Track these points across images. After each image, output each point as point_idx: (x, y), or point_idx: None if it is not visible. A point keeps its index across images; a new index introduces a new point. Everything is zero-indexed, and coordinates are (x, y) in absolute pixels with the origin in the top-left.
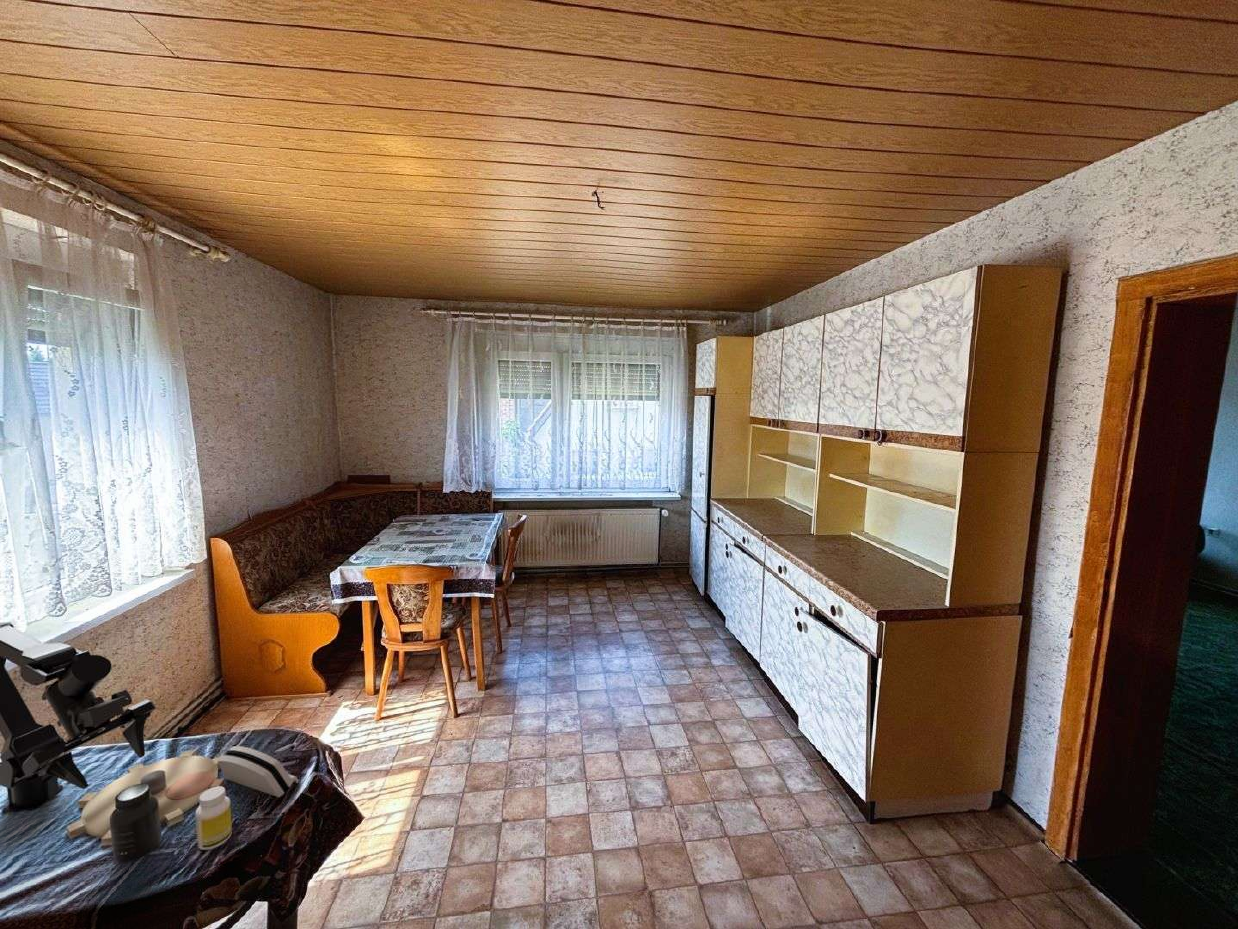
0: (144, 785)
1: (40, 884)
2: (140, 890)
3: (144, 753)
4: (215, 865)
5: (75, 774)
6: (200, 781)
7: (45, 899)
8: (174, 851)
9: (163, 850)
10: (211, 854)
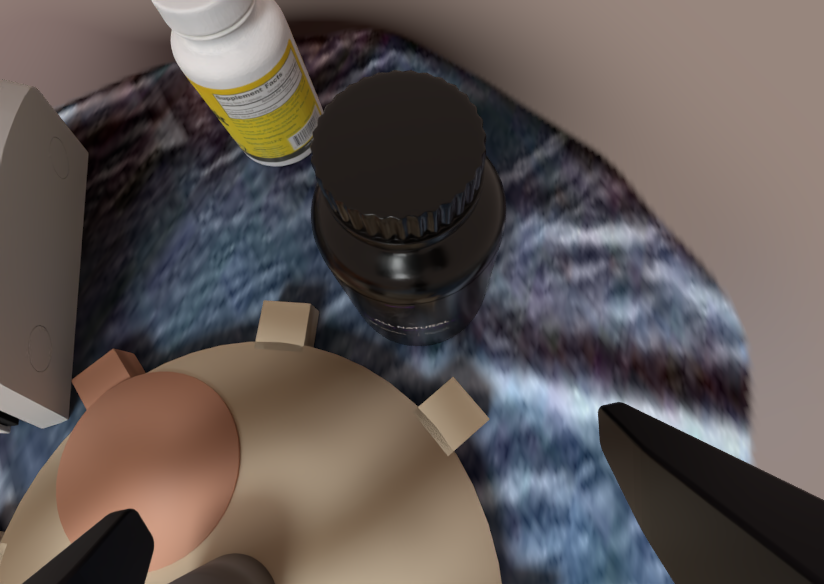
0: (327, 149)
1: (670, 391)
2: (479, 107)
3: (101, 519)
4: (336, 43)
5: (792, 497)
6: (117, 449)
7: (665, 294)
8: None
9: None
10: (319, 86)
